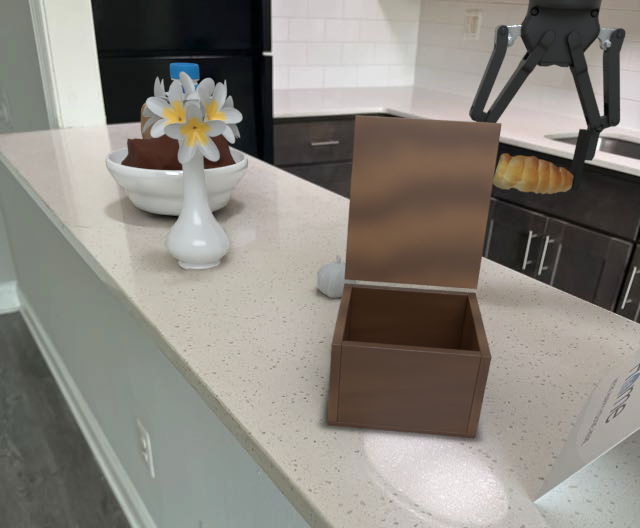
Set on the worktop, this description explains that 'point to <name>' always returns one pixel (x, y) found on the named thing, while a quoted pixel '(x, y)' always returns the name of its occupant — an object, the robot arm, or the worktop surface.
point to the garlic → (332, 278)
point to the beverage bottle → (188, 68)
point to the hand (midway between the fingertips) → (529, 185)
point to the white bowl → (172, 173)
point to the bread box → (408, 361)
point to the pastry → (531, 175)
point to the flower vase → (194, 162)
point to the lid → (419, 200)
